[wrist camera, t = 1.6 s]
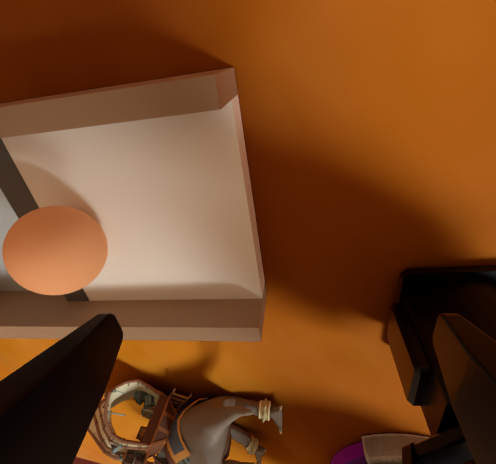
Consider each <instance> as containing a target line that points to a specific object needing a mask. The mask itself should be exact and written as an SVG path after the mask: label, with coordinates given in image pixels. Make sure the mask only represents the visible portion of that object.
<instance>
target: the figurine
mask: <svg viewBox="0 0 496 464" xmlns="http://www.w3.org/2000/svg"><path fill="white" fill-rule="evenodd" d="M175 390H176V388H174V390H173V391H172V392H171V394H170V395H168V396H166V395H165V394H164V393H163V392H161V391H158V390H156V389H155V388H153V387H152V386H150V385H149V384H147V383H145V382H143V381H141V380H139V379H133V380H127V381H124V382H122V383H119V384H117V385H115V386H113V387H112V388H111V389H109V390H108V391H107V392H106V393H105V395H104V397H105V399H103V400H101V401H100V403H99V405H98V408H97V410H96V412H95V414H94V417H93V419H92V421H91V423H90V426H89V428H88V432H89V433H90V435H91V436H92V438H93V439H94V441H95V442H96V444H97V445H98V446H99V448H100V449H101V450H102V452H103V453H104V454H106V455H107V456H109V457H111V458H112V459H114V460H118V461H122V464H255V463H254V462H253V463H249V462H239V461H235V460H230V459H229V460H226V459H227V457H228V456H229V451H230V446H231V438H232V439H234V440H235V441H237V442H239V443H241V444H242V445H244V446H245V449H246V450H248V454H249V453H250V455H252V454H254V453H255V456H256V459H257V463H256V464H261V457H262V456H263V455H264V454H265V452H266V450H267V449H265V448H263V447H262V446H261V445H259V444H258V443H259V441H258V439H257V436H256V437H254V436H253V435H251V436H250V435H248V434H247V433H246V432H245V431H244V430H243V429H241V428H239V427H238V426H236V425H233V424H231V423H232V422H233V421H235V420H236V419H238V418H239V417H241V416H249V415H256V416H259V419H262V422H263V423H264V421H265V420H267V421H269V420H270V418H272V419H273V421H274V422H275V423H276V425H277V426H278V431H279V433H280V434H282V430H283V428H282V415H283V412H282V407H283V406H279V407H277V406H271V401H270V400H269V401H267V398H265V400H260V402H258V401H253V400H249V399H245V398H242V397H237V396H219V397H215V398H212V399H210V400H208V397H207V398H201V399H198V400H196V401H195V402H193V403H192V404H190V405H189V406H187V407H186V408H184V409H183V410H181V411H180V412H179V413H178V414H177V411H178V410H179V409H180V408H181V407H182V406H183V405H184V404H185V403H186V402H187V400H188V399H189V398H190V397H191V396H192V394H190V396H189V397H186V396H183V395H180V394H177V393H175V392H174V391H175ZM171 395H175V396H178V397H181V398H184V399H186V400H185V401H184V400H181V399H178V398H175V397H172V396H171ZM131 398H135V399H136V402H137V404H139V405H141V403H142V402H143V401H144V408H142V415H143V417H145V416H146V415H148V414H149V415H148V416H150V417H149V418H148V416H146V418H148V419H150V418H151V419H150V421H149V423H148V426H147V427H142V426H141V428H140V430H139V432H138V435H137V437H136V438H137V439H139V440H140V442H138V441H131V440H126V439H125V438H124V439H123V438H121V437H119V436H117V435H116V433H115V431H114V428H113V426H112V423H111V414H116V415H123V414H117V413H112V411H111V408H112V407H114V406H115V405H117V404H119V403H120V402H122V401H125V400H128V399H131ZM171 399H173V400H176V401H179V402H182V404H181V403H178V402H175V401H172V400H171ZM145 402H146V405H145ZM148 402H149V404H148ZM173 404H176V405H179V406H180V407H178V406H175V405H173ZM152 406H154V407H155V408H153V407H152ZM150 407H151V408H150ZM149 408H150V409H149ZM175 408H176V409H177V410H176V411H175ZM147 409H148V410H147ZM151 409H153V410H151ZM143 410H145V411H143ZM149 410H151V411H153V412H151V411H149ZM146 411H147V412H146ZM144 412H145V413H148V414H145V413H144ZM150 412H151V413H153V414H151V413H150ZM144 414H145V415H144ZM123 416H125V415H123ZM155 454H157V456H155ZM151 456H153V458H154V460H155V461H154V463H153V462H149V461H147V459H148V458H149V457H151ZM225 460H226V461H225Z"/></svg>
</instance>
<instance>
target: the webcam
mask: <svg viewBox="0 0 496 464" xmlns="http://www.w3.org/2000/svg"><path fill="white" fill-rule="evenodd" d="M361 437H362V442H359V443H356V444H352V445H349V446H347V447H345V448H343V449H342V450H340V451H339V452H337V453H336V454H335V455H334V457H333V458H332V460H331V463H330V464H402V447H403V446H405V445H407V444H409V443H412V442H414V443H418V442H420V441H422V440H425V439H427V438H429V437H426V436H419V435H411V434H394V433H387V434H373V435H366V436H361Z"/></svg>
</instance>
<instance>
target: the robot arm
mask: <svg viewBox="0 0 496 464" xmlns="http://www.w3.org/2000/svg"><path fill="white" fill-rule="evenodd" d="M411 277H415V278H413V279H410V280H409V278H411ZM387 339H388V342H389V345H390V348H391V351H392V355H393V358H394V361H395V364H396V367H397V370H398V374H399V377H400V380H401V383H402V386H403V389H404V392H405V396H406V399H407V401H409V402H410V403H411V404H412V405H414V406H421V408H422V411H423V414H424V417H425V419H426V422H427V425H428V428H429V431H430V434H431V437H429V438H427V439H425V440H422V441H420V442H418V443H414V442H412V443H409V444H407V445H405V446H403V447H402V464H496V266H475V267H440V268H410V269H406V270H404V271H403V272H402V273H401V275H400V280H399V287H398V294H397V301H396V303H393V305H392V306H391V307H390V315H389V322H388V329H387ZM122 340H123V330H122V328H121V326H120V324H119V322H118V320H117V318H116V316H115V315H114V314H113V313H99V314H97V315H96V316H94V317H93V318H91V319H90V320H89V321H87V322H86V323H84V324H83V325H81V326H80V327H78V328H77V329H75V330H74V331H73V332H71V333H70V334H68V335H67V336H65V337H64V338H62V339H61V340H59V341H58V342H57V343H55V344H54V345H52V346H51V347H49V348H48V349H46V350H45V351H43V352H42V353H41V354H39V355H38V356H36V357H35V358H33V359H32V360H30V361H29V362H28V363H26V364H25V365H23V366H22V367H20V368H19V369H17V370H16V371H14V372H13V373H12V374H10V375H9V376H7V377H6V378H4V379H3V380H1V381H0V464H73V462H74V459H75V457H76V455H77V453H78V450H79V448H80V446H81V444H82V441H83V439H84V437H85V435H86V432H87V430H88V428H89V426H90V423H91V421H92V419H93V417H94V414H95V412H96V410H97V408H98V405H99V403H100V401H101V399H102V396H103V394H104V392H105V389H106V387H107V384H108V381H109V378H110V376H111V373H112V370H113V367H114V364H115V361H116V358H117V355H118V352H119V349H120V346H121V343H122Z"/></svg>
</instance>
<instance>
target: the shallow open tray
mask: <svg viewBox="0 0 496 464" xmlns="http://www.w3.org/2000/svg"><path fill="white" fill-rule="evenodd" d="M47 206H66V207H71V208H75V209H78V210H80V211H82V212H84V213H86V214H88V215H89V216H91V217H92V218H93V219H94V220H95V221H96V222H97V223H98V224H99V225H100V226H101V228H102V230H103V231H104V233H105V236H106V239H107V243H108V255H107V259H106V263H105V265H104V267H103V269H102V271H101V272H100V273H99V275H98V276H97V277H96V278H95V279H94V280H93V281H92V282H91V283H90V284H88V285H87V286H85V287H83V288H82V289H80V290H77V291H75V292H72V293H68V294H63V295H44V294H38V293H35V292H32V291H30V290H28V289H26V288H24V287H22V286H21V285H19V284H18V283H17V282H16V281H15V280H14V279H13V278H12V277H11V276H10V274H9V273H8V271H7V270H6V267H5V265H4V261H3V256H2V248H3V242H4V239H5V237H6V234H7V232H8V231H9V229H10V228H11V226H12V225H13V224H14V223H15V222H16V221H17V220H18V219H19V218H21V217H22V216H23V215H25V214H27V213H29V212H31V211H33V210H36V209H39V208H42V207H47ZM266 294H267V293H266V286H265V279H264V272H263V265H262V258H261V251H260V244H259V238H258V231H257V224H256V217H255V210H254V203H253V196H252V189H251V182H250V175H249V168H248V161H247V154H246V147H245V140H244V133H243V126H242V119H241V112H240V106H239V99H238V92H237V85H236V78H235V71H234V67H232V68H225V69H219V70H212V71H206V72H199V73H193V74H186V75H180V76H174V77H167V78H161V79H154V80H148V81H141V82H135V83H128V84H122V85H116V86H109V87H103V88H96V89H90V90H83V91H77V92H70V93H64V94H57V95H51V96H45V97H38V98H32V99H25V100H19V101H12V102H6V103H0V338H32V339H62V338H64V337H65V336H67V335H68V334H70V333H71V332H73V331H74V330H75V329H77V328H78V327H80V326H81V325H83V324H84V323H86V322H87V321H89V320H90V319H91V318H93V317H94V316H96V315H97V314H99V313H113V314H114V315H115V316H116V318H117V320H118V322H119V324H120V326H121V328H122V330H123V340H176V341H247V342H261V338H262V329H263V320H264V311H265V303H266Z"/></svg>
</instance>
